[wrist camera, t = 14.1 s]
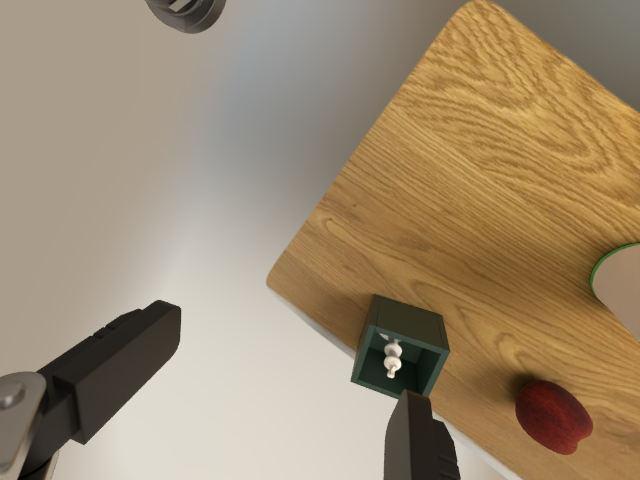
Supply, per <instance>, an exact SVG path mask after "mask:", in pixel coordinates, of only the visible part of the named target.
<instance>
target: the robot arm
mask: <svg viewBox="0 0 640 480" xmlns="http://www.w3.org/2000/svg"><path fill="white" fill-rule="evenodd" d="M145 1H146V2H148V3H150V4H152V5H154V6H156V7H158V8H159V9H160V10H162V11H163V12H165V13H167V14H169V15H171V16H175V17H186V16H189V15H191V14H193V13H194V12H195V11H197V10H198V8H199V7H200V6H201V5H202V3H203V1H204V0H145ZM180 329H181V308H180V307H179V306H176V305H173V304H170V303H168V302H165V301H162V300H157V301H155V302H153V303H152V304H150V305H149V306H148V307H146V308H145V309H143V310H141V309H136V310H134V311H131V312H129V313H126V314H123V315H120V316H119V317H118V318H116V319H115V320H113V321H112V322H110V323H109V324H107V325H106V327H105V328H104V327H103V328H101V329H100V330H98V331H97V332H95V333H94V334H93V336H89V337H88V338H86V339H85V340H83V341H82V342H80V343H79V344H77V345H76V346H74V347H73V348H71V349H70V350H68V351H67V352H65V353H64V354H62V355H61V356H59V357H58V358H56V359H55V360H53V361H52V362H50V363H49V364H47V365H46V366H44V367H43V368H41V369H40V370H38V371H36V372H17V373H12V374H8V375H5V376H2V377H0V480H51V478H52V475H53V472H54V469H55V466H56V463H57V460H58V456H59V449H60V448H61V447H62V446H63V445H64V444H65V443H66V442H67V441H68V440H69V439H72V440H74V441H76V442H79V443H81V444H83V445H85V444H86V443H87V442H88V441H89V440H90V439H91V438H92V437H93V436H94V435H95V434H96V433H97V432H98V431H99V430H100V429H101V428H102V427H103V426H104V424H106V422H108V421H109V420H110V419H111V417H113V416H114V415H115V414H116V412H118V411H119V409H120V408H121V407H122V406H123V405H124V404H125V403H126V402H127V401H128V400H129V399H130V398H131V397H132V396H133V395H134V394H135V393H136V392H137V391H138V390H139V389H140V388H141V387H142V386H143V385H144V384H145V383H146V382H147V381H148V380H149V379H150V378H151V377H152V376H153V375H154V374H155V373H156V372H157V371H158V370H159V369H160V368H161V367H162V366H163V365H164V364H165V363H166V362H167V361H168V360H169V359H170V358H171V357H172V356H173V354H174V353H175V352H176V350H177V348H178V345H179V342H180ZM460 479H461V478H460V473H459V467H458V466H457V457H456V451H455V446H454V441H453V440H452V438H451V436H450V434H449V432H448V430H447V428H446V426H445V424H444V423H443V422H441V421H438V420H435V419H433V416H432V409H431V402H430V399H429V398H428V397H426V396H423V395H420V394H417V393H414V392H412V391H409V390H406V389H404V390H403V392H402V394H401V396H400V398H399V400H398V402H397V405H396V407H395V409H394V411H393V413H392V415H391V418H390V420H389V423H388V426H387V430H386V436H385V453H384V480H460Z"/></svg>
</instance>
